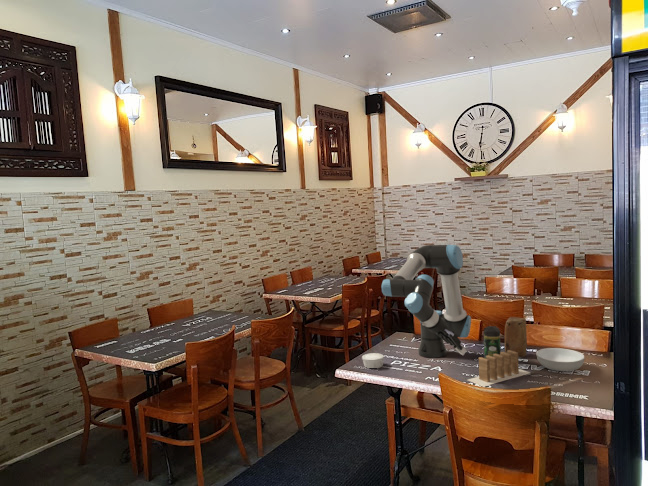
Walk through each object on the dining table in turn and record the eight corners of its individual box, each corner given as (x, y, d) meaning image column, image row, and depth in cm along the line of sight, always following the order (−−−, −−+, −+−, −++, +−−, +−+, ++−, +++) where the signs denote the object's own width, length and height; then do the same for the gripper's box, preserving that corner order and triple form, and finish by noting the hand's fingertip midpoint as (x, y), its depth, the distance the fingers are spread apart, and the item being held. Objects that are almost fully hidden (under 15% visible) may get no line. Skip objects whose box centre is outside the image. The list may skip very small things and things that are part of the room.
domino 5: (516, 374, 224) (515, 353, 223) (507, 371, 228) (507, 350, 227) (518, 373, 224) (518, 352, 224) (510, 370, 229) (509, 350, 228)
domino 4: (509, 376, 222) (508, 355, 221) (500, 373, 226) (500, 352, 225) (511, 375, 222) (511, 354, 222) (503, 372, 227) (502, 351, 226)
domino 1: (487, 382, 216) (486, 360, 215) (479, 379, 220) (478, 357, 219) (490, 381, 216) (489, 359, 216) (481, 378, 221) (481, 357, 220)
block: (527, 354, 253) (527, 317, 252) (525, 358, 247) (524, 320, 246) (506, 352, 259) (505, 315, 258) (503, 356, 253) (502, 319, 251)
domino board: (482, 388, 211) (482, 386, 211) (466, 381, 220) (466, 379, 220) (531, 374, 224) (530, 372, 224) (513, 369, 233) (513, 367, 233)
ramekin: (360, 369, 246) (359, 358, 245) (365, 362, 256) (365, 352, 256) (381, 370, 242) (381, 360, 241) (386, 363, 252) (386, 353, 252)
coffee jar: (484, 359, 249) (483, 324, 248) (501, 360, 246) (500, 325, 245) (484, 366, 240) (483, 329, 239) (501, 367, 237) (500, 330, 236)
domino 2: (494, 380, 218) (494, 358, 217) (486, 377, 222) (485, 355, 221) (497, 379, 218) (496, 358, 218) (489, 376, 223) (488, 355, 222)
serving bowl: (526, 366, 237) (526, 352, 236) (557, 358, 245) (557, 345, 244) (562, 379, 218) (562, 364, 217) (595, 370, 226) (594, 356, 225)
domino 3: (502, 378, 220) (501, 356, 219) (493, 375, 224) (493, 354, 223) (504, 377, 220) (504, 356, 220) (496, 374, 225) (495, 353, 224)
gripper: (417, 325, 208) (449, 355, 217) (437, 331, 196) (470, 363, 205) (427, 311, 210) (457, 342, 219) (447, 316, 198) (479, 349, 207)
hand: (463, 352), depth 212 cm, fingers closed
